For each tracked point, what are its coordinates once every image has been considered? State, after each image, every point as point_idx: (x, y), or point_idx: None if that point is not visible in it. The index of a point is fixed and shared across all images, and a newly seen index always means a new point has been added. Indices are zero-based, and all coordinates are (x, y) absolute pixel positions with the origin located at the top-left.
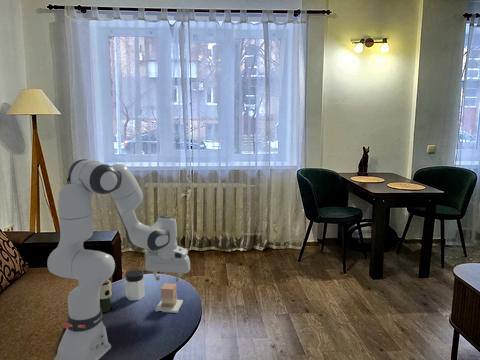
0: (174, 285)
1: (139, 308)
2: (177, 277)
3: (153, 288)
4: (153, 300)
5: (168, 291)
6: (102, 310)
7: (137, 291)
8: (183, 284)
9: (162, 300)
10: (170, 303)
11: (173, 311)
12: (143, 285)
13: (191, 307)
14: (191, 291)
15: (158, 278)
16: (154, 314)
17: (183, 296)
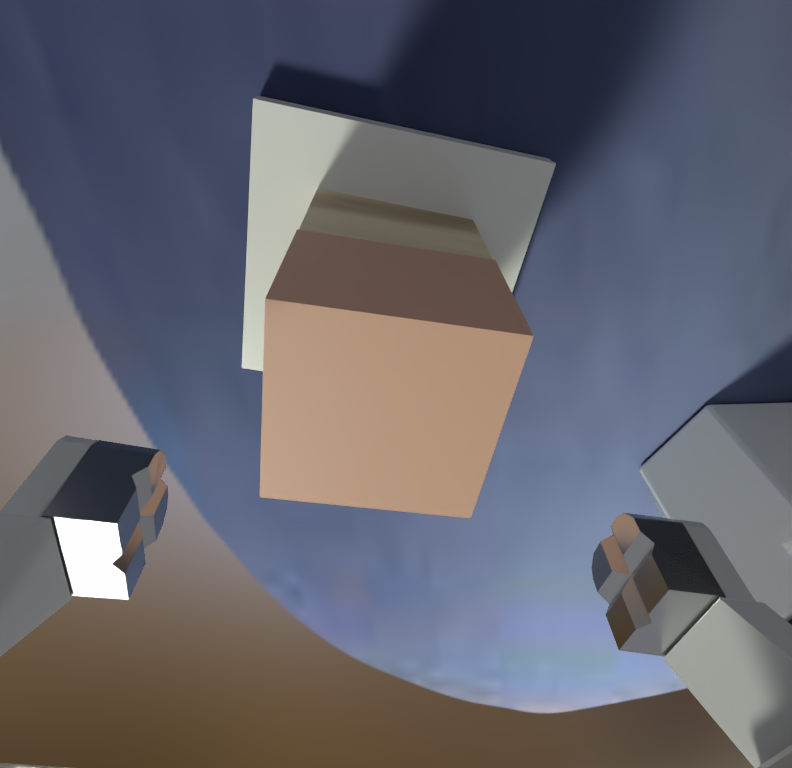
0: (276, 446)
1: (728, 241)
2: (88, 564)
3: (553, 569)
4: (560, 396)
5: (374, 290)
6: None
7: (776, 468)
8: (310, 610)
9: (473, 247)
10: (353, 213)
11: (306, 109)
12: None
13: (112, 234)
14: (214, 524)
15: (653, 554)
16: (560, 70)
17: None
